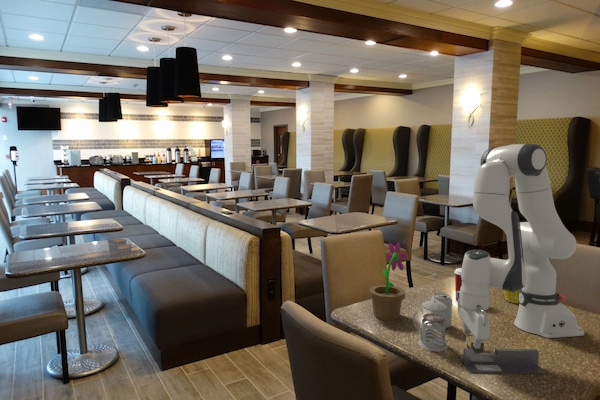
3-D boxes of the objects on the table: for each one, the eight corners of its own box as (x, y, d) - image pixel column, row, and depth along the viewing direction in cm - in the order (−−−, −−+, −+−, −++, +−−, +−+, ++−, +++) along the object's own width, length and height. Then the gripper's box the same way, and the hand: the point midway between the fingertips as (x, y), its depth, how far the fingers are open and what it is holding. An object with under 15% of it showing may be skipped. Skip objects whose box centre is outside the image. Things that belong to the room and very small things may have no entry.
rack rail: (528, 357, 132) (529, 342, 132) (545, 374, 122) (546, 358, 122) (458, 356, 133) (459, 341, 133) (469, 372, 123) (470, 356, 123)
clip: (477, 349, 138) (478, 336, 138) (483, 355, 134) (483, 342, 133) (465, 348, 138) (466, 336, 138) (470, 355, 134) (471, 342, 133)
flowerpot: (412, 318, 164) (414, 244, 160) (382, 325, 158) (384, 248, 154) (389, 306, 176) (391, 237, 173) (361, 312, 170) (362, 240, 167)
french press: (450, 352, 136) (453, 278, 133) (414, 349, 138) (416, 276, 135) (445, 339, 145) (448, 270, 143) (411, 336, 147) (413, 268, 145)
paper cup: (474, 304, 179) (476, 272, 177) (456, 304, 179) (458, 272, 177) (467, 297, 187) (469, 267, 185) (450, 297, 187) (451, 267, 185)
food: (528, 309, 177) (502, 306, 181) (528, 295, 187) (503, 292, 191) (529, 277, 172) (502, 275, 177) (528, 264, 182) (503, 263, 187)
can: (452, 330, 153) (453, 299, 151) (431, 328, 154) (432, 297, 153) (449, 322, 160) (450, 292, 159) (429, 320, 161) (430, 291, 160)
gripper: (496, 313, 124) (493, 357, 125) (473, 290, 144) (471, 328, 146) (475, 312, 124) (472, 355, 126) (455, 290, 145) (452, 328, 146)
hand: (471, 341), depth 136 cm, fingers open, 8 cm apart
